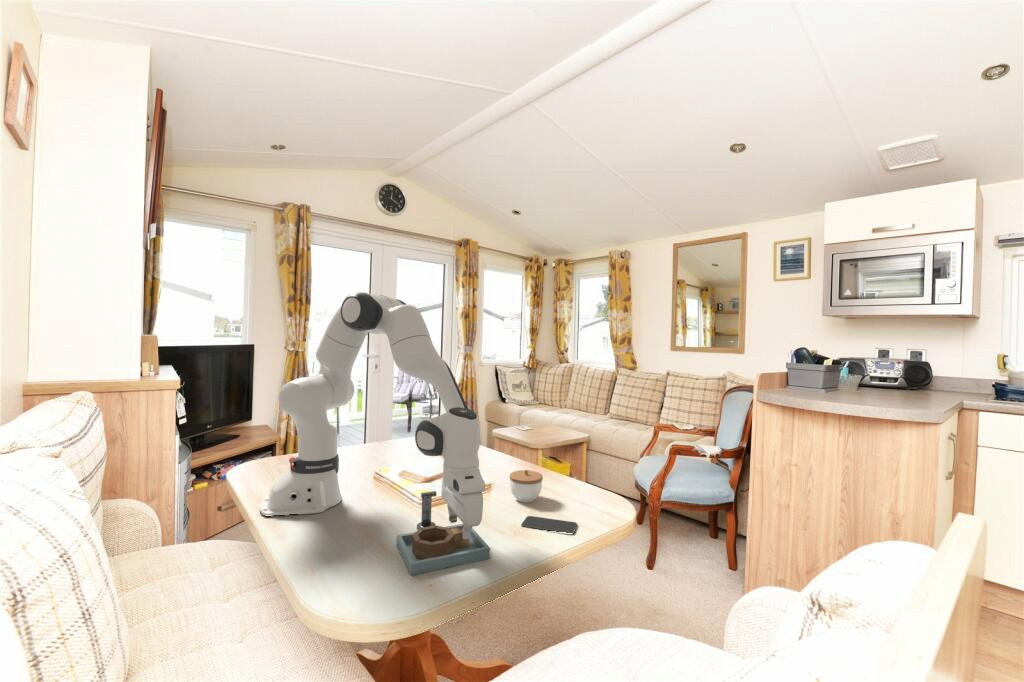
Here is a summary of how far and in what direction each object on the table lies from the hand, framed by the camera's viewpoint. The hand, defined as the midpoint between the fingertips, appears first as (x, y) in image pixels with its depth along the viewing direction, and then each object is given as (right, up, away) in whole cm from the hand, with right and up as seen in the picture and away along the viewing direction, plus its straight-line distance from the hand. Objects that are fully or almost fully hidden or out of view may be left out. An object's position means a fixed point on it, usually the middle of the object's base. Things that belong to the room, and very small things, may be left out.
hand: (459, 529), depth 112 cm
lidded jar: (+18, -5, +34) cm, 38 cm away
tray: (-4, -5, -2) cm, 6 cm away
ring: (-4, -4, -2) cm, 6 cm away
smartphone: (+24, -6, +14) cm, 28 cm away
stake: (-10, -4, +11) cm, 16 cm away
